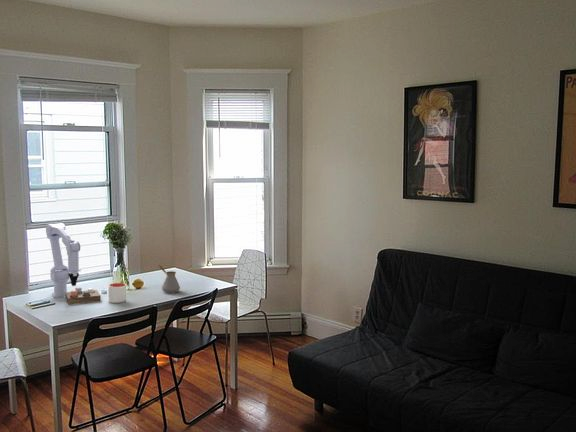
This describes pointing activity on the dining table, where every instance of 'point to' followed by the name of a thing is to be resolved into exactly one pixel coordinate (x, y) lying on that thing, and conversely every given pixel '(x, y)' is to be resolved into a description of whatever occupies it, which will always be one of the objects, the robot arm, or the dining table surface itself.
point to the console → (83, 298)
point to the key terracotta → (73, 294)
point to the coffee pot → (170, 282)
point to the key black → (86, 293)
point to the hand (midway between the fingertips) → (73, 285)
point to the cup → (117, 292)
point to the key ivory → (91, 290)
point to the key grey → (78, 290)
